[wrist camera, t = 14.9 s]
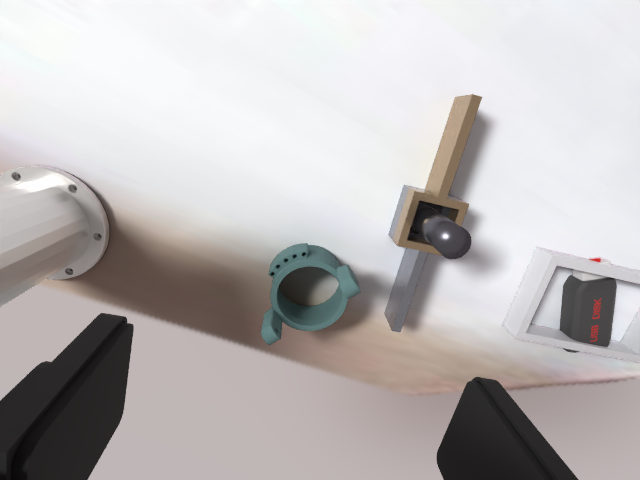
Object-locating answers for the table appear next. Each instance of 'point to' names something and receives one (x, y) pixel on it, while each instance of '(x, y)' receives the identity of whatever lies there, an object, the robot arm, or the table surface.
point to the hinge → (433, 193)
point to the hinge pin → (441, 232)
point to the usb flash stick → (588, 307)
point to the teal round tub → (306, 315)
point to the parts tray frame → (632, 347)
